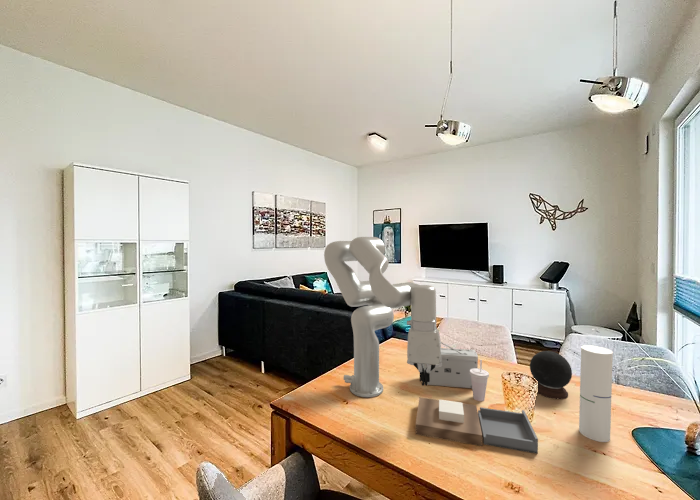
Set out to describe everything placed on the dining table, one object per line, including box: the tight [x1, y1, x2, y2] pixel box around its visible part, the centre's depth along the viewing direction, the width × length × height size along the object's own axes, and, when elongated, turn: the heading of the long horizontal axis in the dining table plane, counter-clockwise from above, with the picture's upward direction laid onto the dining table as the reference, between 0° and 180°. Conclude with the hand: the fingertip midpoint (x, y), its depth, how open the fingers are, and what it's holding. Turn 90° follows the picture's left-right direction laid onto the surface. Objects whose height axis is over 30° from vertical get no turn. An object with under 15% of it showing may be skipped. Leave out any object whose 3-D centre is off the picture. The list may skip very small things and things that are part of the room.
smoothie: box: [470, 359, 490, 402], centre depth 110 cm, size 6×6×14 cm
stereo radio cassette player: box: [422, 341, 479, 389], centre depth 121 cm, size 21×8×20 cm, turn 80°
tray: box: [477, 407, 539, 455], centre depth 90 cm, size 13×14×4 cm
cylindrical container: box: [578, 344, 614, 443], centre depth 89 cm, size 7×7×25 cm
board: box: [415, 396, 483, 447], centre depth 95 cm, size 18×16×3 cm
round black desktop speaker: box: [529, 350, 573, 400], centre depth 115 cm, size 13×13×15 cm
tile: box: [438, 399, 464, 423], centre depth 94 cm, size 7×7×2 cm
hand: (424, 383), depth 96 cm, fingers closed
